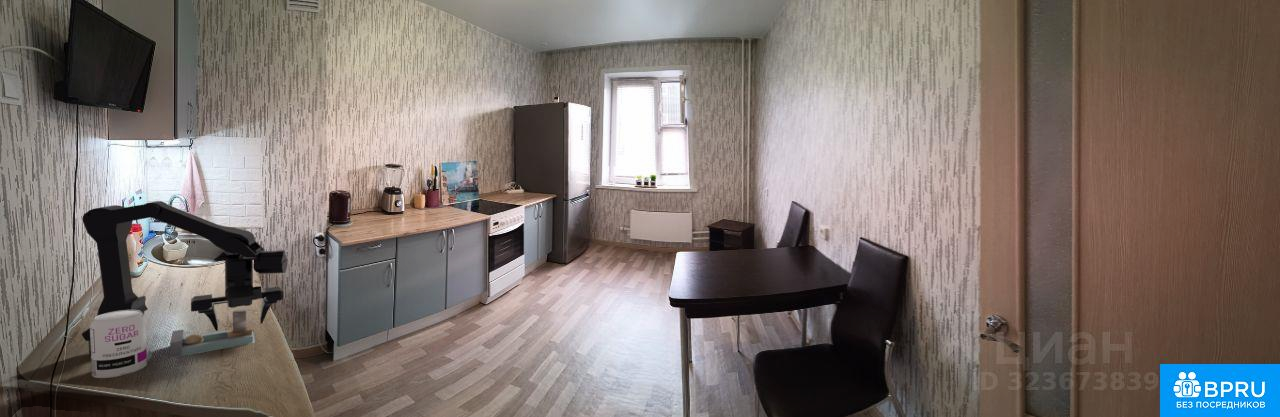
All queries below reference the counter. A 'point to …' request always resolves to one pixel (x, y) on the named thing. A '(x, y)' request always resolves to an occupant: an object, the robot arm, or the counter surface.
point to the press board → (216, 343)
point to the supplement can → (118, 343)
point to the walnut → (193, 339)
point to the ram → (239, 325)
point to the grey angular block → (177, 343)
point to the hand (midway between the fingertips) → (239, 326)
